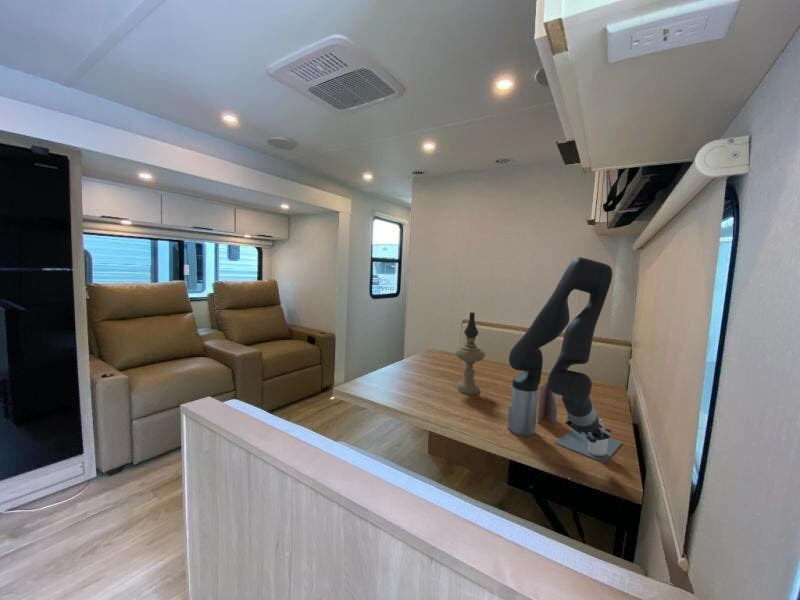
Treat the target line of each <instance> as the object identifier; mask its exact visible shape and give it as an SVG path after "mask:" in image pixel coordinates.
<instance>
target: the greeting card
mask: <svg viewBox="0 0 800 600" xmlns="http://www.w3.org/2000/svg"><path fill="white" fill-rule="evenodd" d="M558 405H559V395H558V394H555V393H553V392H551V390H550V389H549V387H548V380H547V381H546V382H545V383H544V384H542V385H541V386H540V387H539V394H538V407H537V408H538V409H537V424H538V423H539V422H540V421H541V420H542V419H543V418H544V417H545V415H546V417H547V418H548V419H549V420H550V421H551V423H553V425H554V426H555V427H557V421H558V420H557V418H558V409H559V408H558Z"/></svg>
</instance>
